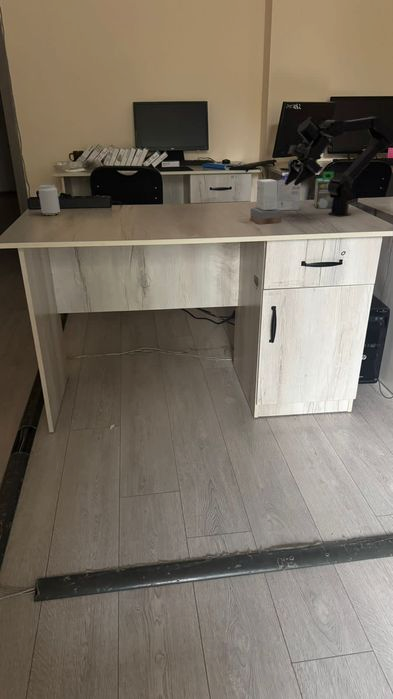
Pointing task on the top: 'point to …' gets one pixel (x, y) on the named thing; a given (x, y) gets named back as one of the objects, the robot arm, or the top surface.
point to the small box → (267, 194)
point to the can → (49, 199)
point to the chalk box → (323, 192)
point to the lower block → (266, 220)
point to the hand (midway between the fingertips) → (290, 184)
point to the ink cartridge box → (288, 195)
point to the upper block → (265, 213)
